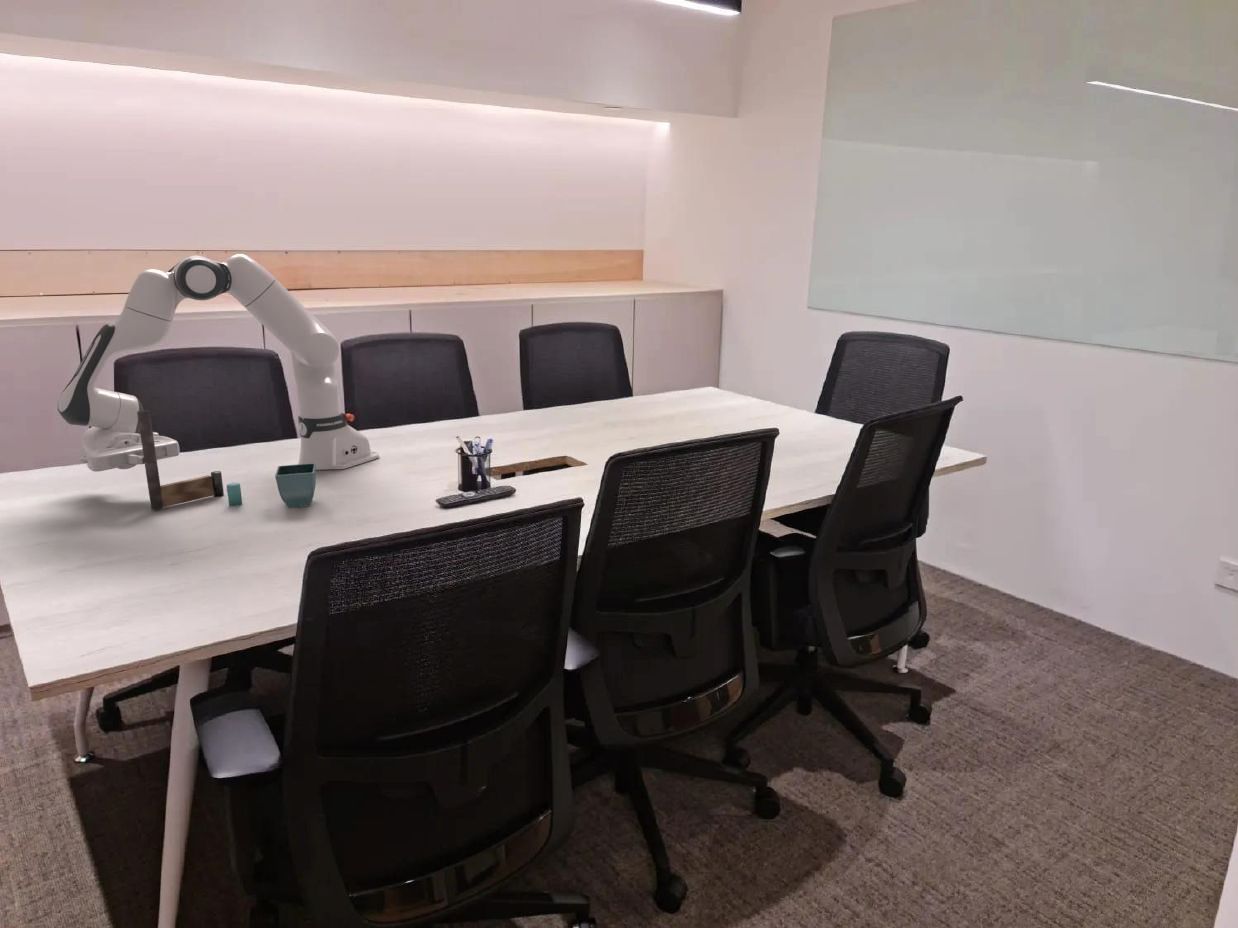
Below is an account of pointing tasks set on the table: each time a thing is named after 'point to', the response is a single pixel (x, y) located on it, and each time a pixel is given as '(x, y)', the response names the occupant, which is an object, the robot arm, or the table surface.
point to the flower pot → (296, 484)
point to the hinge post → (217, 483)
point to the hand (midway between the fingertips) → (147, 459)
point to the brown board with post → (157, 493)
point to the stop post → (234, 494)
